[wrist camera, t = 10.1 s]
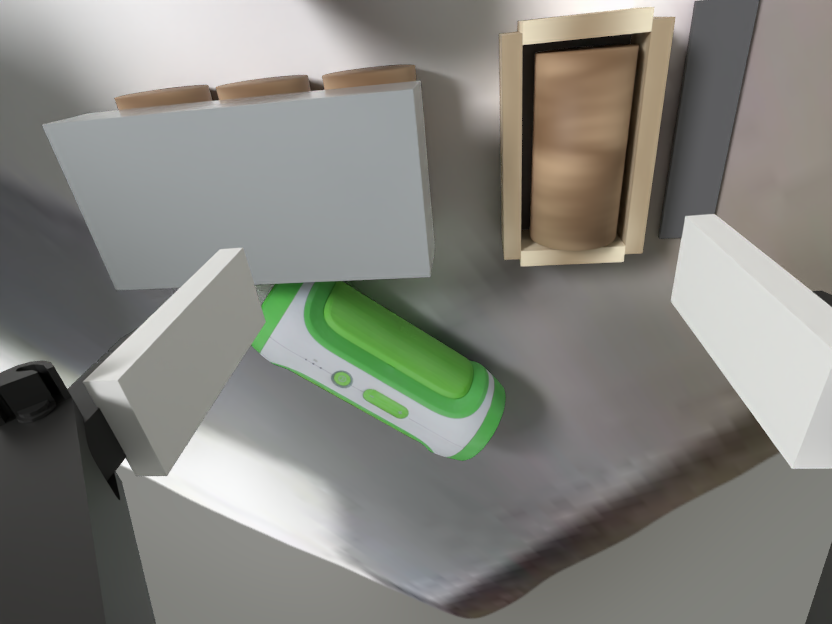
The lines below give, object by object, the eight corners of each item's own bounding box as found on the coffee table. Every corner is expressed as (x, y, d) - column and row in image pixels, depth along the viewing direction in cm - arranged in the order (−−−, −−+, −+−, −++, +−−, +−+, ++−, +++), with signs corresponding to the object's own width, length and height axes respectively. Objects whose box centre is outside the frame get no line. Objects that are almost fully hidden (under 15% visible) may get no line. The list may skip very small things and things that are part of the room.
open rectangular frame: (501, 244, 34) (504, 267, 31) (498, 23, 27) (501, 23, 24) (625, 238, 32) (641, 261, 29) (654, 5, 26) (677, 4, 23)
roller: (521, 223, 33) (540, 254, 28) (525, 51, 28) (548, 56, 23) (598, 216, 32) (629, 246, 28) (616, 42, 27) (656, 46, 23)
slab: (150, 264, 31) (116, 290, 28) (89, 112, 27) (41, 124, 24) (435, 250, 29) (430, 277, 26) (420, 80, 24) (412, 89, 21)
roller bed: (198, 240, 36) (160, 271, 32) (147, 90, 31) (94, 102, 27) (433, 227, 33) (427, 258, 29) (419, 62, 28) (409, 70, 24)
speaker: (266, 306, 38) (224, 365, 32) (309, 234, 35) (272, 283, 28) (452, 415, 42) (448, 487, 36) (507, 360, 39) (514, 428, 32)
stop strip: (658, 236, 32) (659, 238, 32) (694, 1, 26) (696, 1, 25) (707, 234, 32) (709, 236, 32) (757, -6, 25) (760, -6, 25)
